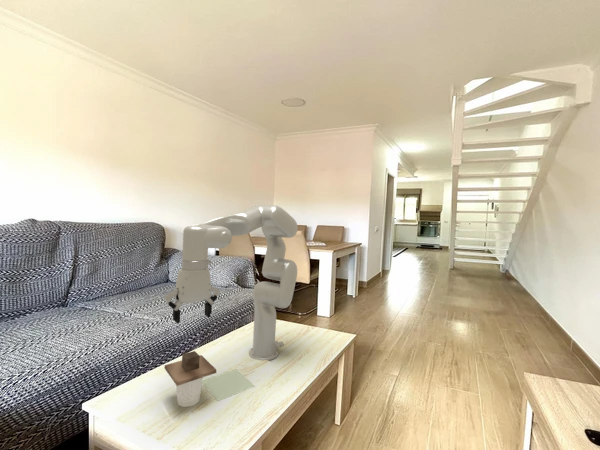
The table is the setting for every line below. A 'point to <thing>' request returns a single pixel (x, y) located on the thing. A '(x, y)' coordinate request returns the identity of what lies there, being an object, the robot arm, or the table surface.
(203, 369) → the lid
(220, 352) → the table surface
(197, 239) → the robot arm
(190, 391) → the white cup
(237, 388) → the mat
